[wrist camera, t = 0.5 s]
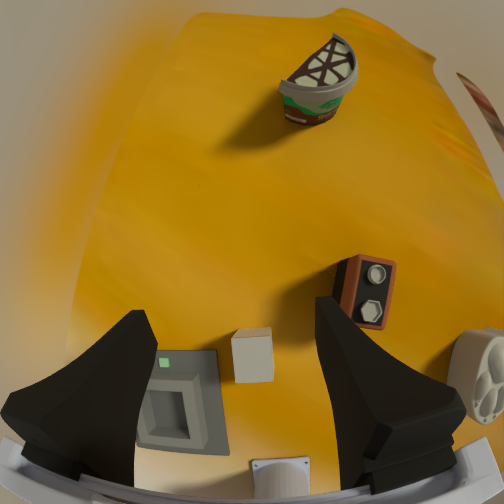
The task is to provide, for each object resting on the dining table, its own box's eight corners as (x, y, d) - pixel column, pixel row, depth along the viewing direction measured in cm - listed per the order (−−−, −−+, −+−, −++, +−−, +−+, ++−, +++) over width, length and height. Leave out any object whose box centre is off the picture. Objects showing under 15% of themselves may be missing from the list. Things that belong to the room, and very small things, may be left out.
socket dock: (229, 453, 34) (225, 467, 30) (139, 445, 35) (130, 456, 31) (216, 349, 35) (210, 356, 32) (120, 348, 36) (106, 354, 33)
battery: (327, 314, 35) (345, 327, 25) (337, 259, 35) (359, 252, 25) (360, 319, 34) (389, 333, 24) (370, 266, 35) (402, 260, 25)
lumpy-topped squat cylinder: (500, 325, 32) (535, 332, 23) (485, 402, 30) (515, 419, 22) (454, 330, 33) (489, 340, 24) (438, 414, 31) (466, 437, 23)
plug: (274, 365, 35) (273, 381, 29) (242, 367, 35) (235, 383, 29) (271, 326, 35) (270, 336, 29) (238, 328, 35) (231, 338, 29)
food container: (316, 150, 37) (326, 110, 27) (278, 125, 37) (278, 81, 27) (360, 96, 37) (377, 53, 27) (326, 74, 38) (335, 30, 28)
